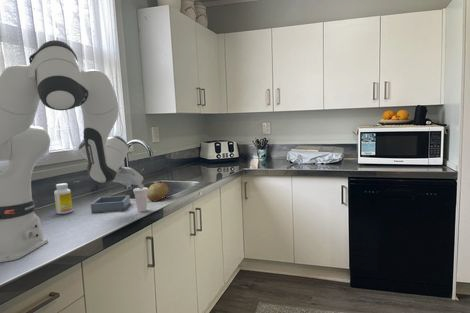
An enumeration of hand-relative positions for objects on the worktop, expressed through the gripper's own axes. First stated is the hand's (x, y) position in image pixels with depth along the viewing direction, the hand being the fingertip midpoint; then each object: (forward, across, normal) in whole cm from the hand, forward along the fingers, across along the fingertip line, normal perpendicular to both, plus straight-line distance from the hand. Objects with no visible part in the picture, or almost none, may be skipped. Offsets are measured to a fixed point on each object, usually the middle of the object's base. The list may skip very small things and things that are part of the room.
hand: (135, 186), depth 149 cm
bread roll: (+24, +14, -8) cm, 29 cm away
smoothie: (+10, +1, +6) cm, 12 cm away
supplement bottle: (-4, +30, +20) cm, 37 cm away
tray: (+7, +18, +9) cm, 21 cm away
